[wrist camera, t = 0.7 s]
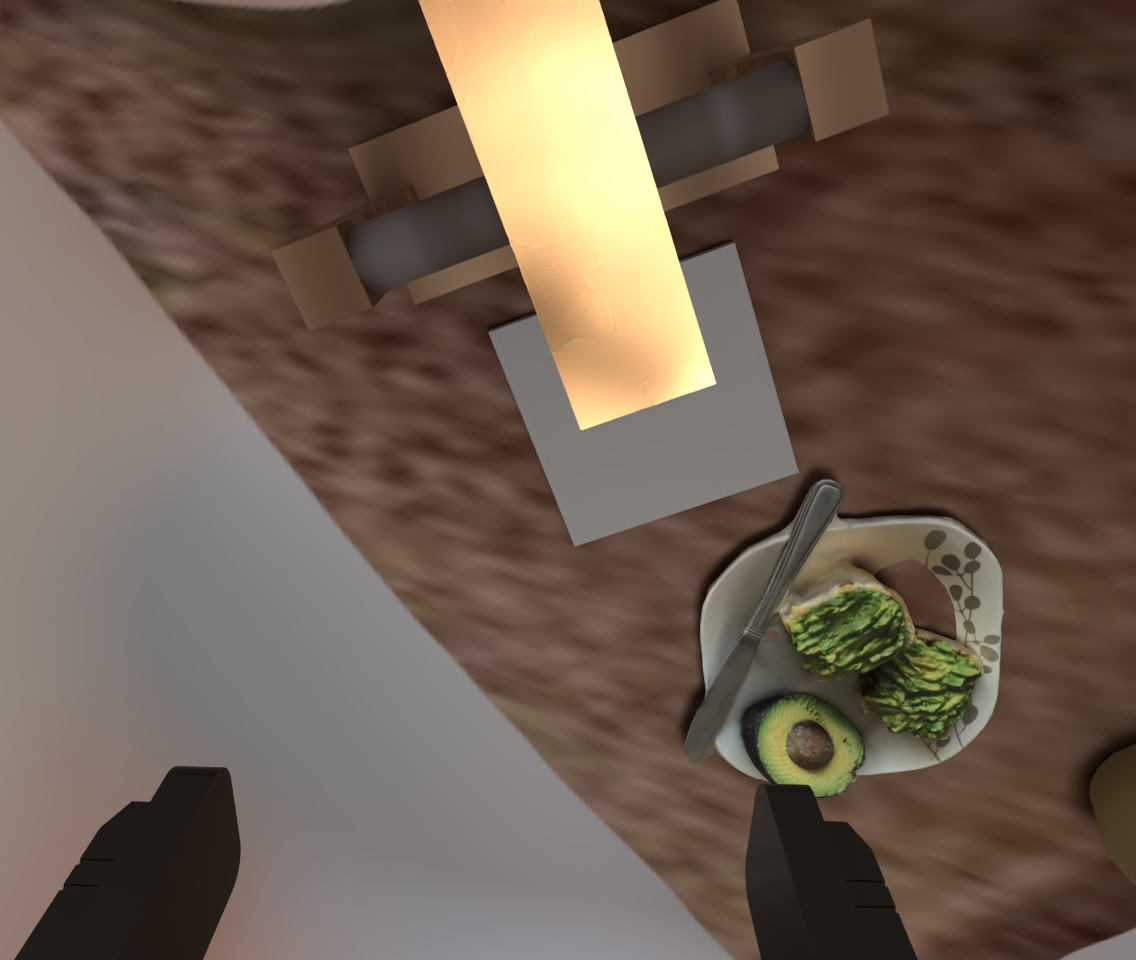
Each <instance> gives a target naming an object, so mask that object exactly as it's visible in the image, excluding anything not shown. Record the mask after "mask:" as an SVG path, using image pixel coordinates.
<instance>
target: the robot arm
mask: <svg viewBox="0 0 1136 960" xmlns="http://www.w3.org/2000/svg"><path fill="white" fill-rule="evenodd" d="M240 847H241V846H240V837H239V831H238V823H237V816H236V809H235V802H234V797H233V789H232V783H231V776H230V773H229V771H228V769H227V768H224V767H192V766H191V767H190V766H175V767H173V768H172V769H171V770H170V771H169V772H168V774H167V775H166V777H165V778H164V780H163V781H162V783H161V785H160V786H159V788H158V790H157V791H156V793H155V795H154V796H153V798H152V800H151V801H150V802H134V801H132V802H131V803H130V804H128V805H127V806H126V807H125V808H123V809H122V810H121V811H120V812H119V813H117V814H116V815H115V816H114V817H113V818H111V819H110V820H109V821H108V822H107V823H105V824H104V825H103V826H102V827H101V828H100V829H99V830H98V832H97V834H96V835H95V837H94V838H93V840H92V841H91V843H90V844H89V846H88V847H87V849H86V850H85V852H84V853H83V855H82V857H81V858H80V863H79V865H76V866H75V867H74V869H73V870H72V872H71V873H70V875H69V877H68V878H67V880H66V881H65V883H64V887H63V890H60V891H59V892H58V893H57V895H56V897H55V898H54V899H53V901H52V903H51V904H50V906H49V907H48V909H47V910H46V912H45V914H44V915H43V916H42V918H41V920H40V921H39V922H38V924H37V926H36V927H35V929H34V930H33V932H32V933H31V935H30V936H29V938H28V939H27V941H26V942H25V944H24V946H23V947H22V949H21V950H20V952H19V953H18V955H17V956H16V958H15V959H14V960H203V958H204V956H205V953H206V951H207V949H208V946H209V944H210V942H211V939H212V937H213V935H214V932H215V930H216V928H217V925H218V923H219V921H220V918H221V916H222V914H223V911H224V909H225V907H226V905H227V902H228V900H229V898H230V895H231V893H232V890H233V888H234V885H235V881H236V878H237V875H238V870H239V864H240V853H241V852H240V851H241V848H240ZM745 878H746V891H747V898H748V904H749V908H750V913H751V917H752V921H753V926H754V930H755V934H756V939H757V943H758V947H759V952H760V956H761V960H918V959H917V957H916V954H915V952H914V950H913V947H912V945H911V942H910V940H909V938H908V935H907V933H906V930H905V928H904V926H903V923H902V921H901V918H900V916H899V914H898V913H896V910H895V907H896V906H895V904H894V902H893V899H892V897H891V894H890V892H889V890H888V887H885V880H884V878H883V875H882V873H881V870H880V868H879V865H878V863H877V861H876V858H875V856H874V853H873V851H872V849H871V848H870V847H869V846H868V845H867V844H866V843H865V841H864V840H863V839H862V838H861V837H860V836H859V835H858V834H857V833H856V832H855V830H854V829H853V828H852V827H851V826H850V825H849V824H848V823H847V822H831V821H824V819H823V817H822V814H821V811H820V809H819V806H818V803H817V800H816V798H815V795H814V792H813V790H812V788H811V787H810V786H809V785H803V784H765V783H761V784H759V785H758V787H757V791H756V796H755V802H754V809H753V815H752V822H751V828H750V835H749V841H748V848H747V854H746V865H745Z"/></svg>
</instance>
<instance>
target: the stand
mask: <svg viewBox="0 0 1136 960" xmlns="http://www.w3.org/2000/svg"><path fill="white" fill-rule="evenodd" d="M612 44H613V48H614V51H615V54H616V57H617V61H618V64H619V67H620V70H621V74H622V77H623V80H624V84H625V87H626V90H627V93H628V97H629V100H630V103H631V106H632V110H633V113H634V116H635V120H636V123H637V126H638V129H639V133H640V136H641V139H642V142H643V146H644V149H645V152H646V156H647V159H648V162H649V165H650V169H651V172H652V175H653V178H654V182H655V185H656V188H657V192H658V195H659V198H660V201H661V205H662V208H663V211H664V212H665V211H668V210H670V209H673V208H676V207H678V206H681V205H684V204H686V203H689V202H692V201H694V200H697V199H700V198H702V197H705V196H708V195H710V194H713V193H716V192H718V191H721V190H724V189H726V188H729V187H732V186H734V185H737V184H740V183H743V182H745V181H748V180H751V179H753V178H756V177H759V176H761V175H764V174H767V173H769V172H772V171H775V170H777V169H779V166H778V162H777V158H776V154H775V150H774V146H773V145H775V144H778V143H780V142H783V141H786V140H788V139H796V140H806V141H815V142H816V141H819V140H822V139H824V138H827V137H830V136H832V135H835V134H838V133H840V132H843V131H846V130H848V129H851V128H854V127H856V126H859V125H862V124H864V123H867V122H870V121H872V120H875V119H878V118H880V117H883V116H886V115H888V114H889V109H888V104H887V99H886V94H885V89H884V84H883V79H882V74H881V69H880V64H879V59H878V54H877V49H876V44H875V39H874V34H873V29H872V24H871V19H870V18H869V19H865V20H862V21H859V22H856V23H852V24H849V25H846V26H842V27H839V28H836V29H832V30H829V31H826V32H822V33H819V34H816V35H812V36H809V37H806V38H803V39H799V40H796V41H793V42H789V43H786V44H783V45H779V46H776V47H773V48H769V49H766V50H763V51H759V52H756V53H753V54H750V50H749V46H748V42H747V38H746V34H745V30H744V26H743V22H742V18H741V14H740V10H739V6H738V2H737V0H719V1H717V2H714V3H712V4H709V5H707V6H704V7H702V8H699V9H697V10H694V11H692V12H689V13H687V14H684V15H682V16H679V17H677V18H674V19H672V20H669V21H667V22H664V23H662V24H659V25H657V26H654V27H652V28H649V29H647V30H644V31H642V32H639V33H637V34H634V35H632V36H629V37H627V38H624V39H622V40H619V41H617V42H614V43H612ZM348 151H349V153H350V155H351V158H352V160H353V162H354V165H355V167H356V169H357V172H358V174H359V176H360V179H361V181H362V183H363V185H364V188H365V190H366V192H367V195H368V197H369V199H370V202H371V203H369V204H367V205H365V206H363V207H361V208H359V209H357V210H355V211H353V212H351V213H348V214H346V215H344V216H342V217H340V218H338V219H336V220H334V221H332V222H330V223H328V224H326V225H324V226H322V227H320V228H318V229H316V230H314V231H312V232H310V233H308V234H305V235H303V236H301V237H299V238H297V239H295V240H293V241H291V242H289V243H287V244H285V245H283V246H281V247H279V248H277V249H275V250H273V251H271V254H272V256H273V258H274V260H275V262H276V264H277V266H278V268H279V270H280V272H281V274H282V276H283V278H284V280H285V282H286V284H287V286H288V289H289V291H290V293H291V295H292V297H293V299H294V301H295V303H296V305H297V307H298V309H299V311H300V313H301V315H302V317H303V319H304V322H305V324H306V326H307V328H308V330H309V332H310V331H312V330H315V329H318V328H320V327H323V326H326V325H328V324H331V323H334V322H336V321H339V320H342V319H344V318H347V317H350V316H352V315H355V314H358V313H360V312H363V311H366V310H368V309H371V308H373V307H374V306H375V305H376V304H377V303H378V302H379V301H380V300H381V298H382V297H383V296H384V295H385V294H386V293H387V292H388V291H389V290H390V289H393V288H396V287H398V286H401V285H404V284H406V285H407V287H408V290H409V292H410V294H411V297H412V299H413V301H414V304H415V305H416V304H418V303H421V302H424V301H426V300H429V299H432V298H434V297H437V296H440V295H442V294H445V293H448V292H450V291H453V290H456V289H458V288H461V287H464V286H467V285H469V284H472V283H475V282H477V281H480V280H483V279H485V278H488V277H491V276H493V275H496V274H499V273H501V272H504V271H507V270H509V269H512V268H515V267H517V266H519V265H518V262H517V260H516V257H515V254H514V252H513V249H512V247H511V244H510V241H509V239H508V236H507V233H506V231H505V228H504V225H503V223H502V220H501V217H500V215H499V212H498V209H497V207H496V204H495V202H494V199H493V196H492V194H491V191H490V188H489V186H488V183H487V180H486V178H485V175H484V172H483V170H482V167H481V164H480V162H479V159H478V156H477V154H476V151H475V149H474V146H473V143H472V141H471V138H470V135H469V133H468V130H467V127H466V125H465V122H464V119H463V117H462V114H461V111H460V109H459V106H458V105H457V106H454V107H452V108H449V109H447V110H444V111H442V112H439V113H437V114H434V115H432V116H429V117H427V118H424V119H422V120H419V121H417V122H414V123H412V124H409V125H407V126H404V127H402V128H399V129H397V130H394V131H392V132H389V133H387V134H384V135H382V136H379V137H377V138H374V139H372V140H369V141H367V142H364V143H362V144H359V145H357V146H354V147H352V148H349V149H348Z"/></svg>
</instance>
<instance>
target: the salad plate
mask: <svg viewBox="0 0 1136 960" xmlns="http://www.w3.org/2000/svg"><path fill="white" fill-rule="evenodd" d="M844 498H845V489H844V487H843V486H842V485H841V484H840V483H839V482H838V481H835V480H833V479H829V478H823V479H821V480H819V481H817V482H816V483H815V484H813V486H812V487H811V488H810V490H809V492H808V494H807V495H806V497H805V499H804V501H803V503H802V505H801V507H800V509H799V511H798V512H797V515H796V517H795V519H794V520H793V521H792V522H791V523H790V524H789V525H788V526H787V527H785V528H784V529H783V530H782V531H780V532H778V533H776V534H774V535H772V536H770V537H768V538H767V539H764V540H762V541H760V542H758V543H756V544H754V545H752V546H750V547H748V548H747V549H745V550H744V551H743V552H742V553H741V554H740V555H739V556H738V557H737V558H736V559H735V560H734V561H733V562H732V563H731V564H730V565H729V566H728V567H727V568H726V569H725V570H724V571H723V572H722V574H721V575H720V576H719V577H718V578H717V579H716V580H715V581H714V582H713V583H712V584H711V585H710V586H709V588H708V591H707V596H706V599H705V601H704V604H703V606H702V612H701V620H700V645H701V651H702V659H703V672H704V680H705V697H704V699H703V702H702V704H701V705H700V707H699V708H698V710H697V711H696V714H695V716H694V718H693V720H692V723H691V725H690V729H689V731H688V735H687V739H686V743H685V746H684V750H685V752H686V753H687V755H688V756H689V757H690V760H691V762H692V763H698V762H703V761H704V759H705V758H706V757H707V756H708V755H711V754H714V755H718V756H719V757H721V758H723V759H724V760H726V761H727V762H729V763H730V764H731V765H732V766H734V767H735V768H736V769H738V770H740V771H741V772H743V773H745V774H747V775H749V776H751V777H753V778H756V779H761V780H765V781H769V782H771V783H772V784H803V785H809V786H810V787H811V788H812V790H813V792H814V795H815V798H823V797H830V796H834V795H838V794H842V793H843V792H844V791H846V790H847V789H848V787H849V785H850V784H853V783H855V782H857V780H858V777H857V775H875V774H881V773H894V772H903V771H910V770H916V769H921V768H925V767H929V766H932V765H936V764H939V763H941V762H943V761H945V760H947V759H949V758H951V757H953V756H954V755H956V754H957V753H959V752H960V751H961V750H963V749H964V748H965V747H966V746H967V745H968V744H969V743H970V742H971V741H972V740H973V739H974V738H975V737H976V736H977V735H978V734H979V733H980V731H982V730H983V729H984V728H985V726H986V724H987V722H988V721H989V719H990V718H991V716H992V714H993V710H994V707H995V704H996V701H997V696H998V689H999V673H1000V643H1001V624H1002V616H1003V614H1004V608H1003V589H1002V570H1001V568H1000V564H999V562H998V560H997V558H996V557H995V556H994V554H993V553H992V552H991V551H990V549H989V547H988V545H987V543H986V542H985V541H984V540H983V539H981V538H980V537H978V536H977V535H976V534H974V533H973V532H972V531H971V530H970V529H968V528H966V527H965V526H964V525H962V524H961V523H960V522H959V521H957V520H955V519H953V518H951V517H942V516H932V515H930V516H914V515H897V516H877V517H871V518H864V519H854V518H850V519H842V518H839V517H838V516H837V512H838V509H839V508H840V506H841V504H842V503H843V501H844ZM911 559H914V560H916V561H918V562H919V563H921V564H922V565H924V566H925V567H927V568H928V569H929V570H931V571H932V572H933V573H934V574H935V575H936V576H937V578H938V579H939V580H940V581H941V583H942V584H943V585H944V586H945V587H946V589H947V591H948V593H949V595H950V597H951V599H952V603H953V605H954V609H955V616H956V627H957V636H956V640H955V641H954V640H951V639H949V638H946V637H943V636H941V635H937V634H935V633H933V632H930V631H927V630H923V629H918V628H914V625H913V623H912V620H911V617H910V615H909V612H908V609H907V606H906V604H905V603H904V601H903V599H902V597H901V596H900V595H899V594H898V593H897V592H895V591H894V590H892V589H890V588H888V587H887V586H885V585H884V584H882V583H880V582H879V581H878V580H877V579H876V578H875V577H874V576H875V573H876V572H877V571H879V570H880V569H882V568H885V567H888V566H890V565H892V564H895V563H899V562H903V561H906V560H911ZM768 631H776V632H777V633H778V636H777V638H776V639H775V640H773V641H772V642H767V641H764V639H763V636H764V634H765V633H766V632H768Z"/></svg>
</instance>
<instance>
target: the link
mask: <svg viewBox="0 0 1136 960" xmlns="http://www.w3.org/2000/svg"><path fill="white" fill-rule="evenodd" d="M419 3H420V6H421V8H422V11H423V13H424V16H425V19H426V21H427V24H428V27H429V29H430V32H431V35H432V37H433V40H434V43H435V45H436V48H437V51H438V53H439V56H440V59H441V61H442V64H443V66H444V69H445V72H446V74H447V77H448V80H449V82H450V85H451V88H452V90H453V93H454V96H455V98H456V101H457V104H458V106H459V109H460V111H461V114H462V117H463V119H464V122H465V125H466V127H467V130H468V133H469V135H470V138H471V141H472V143H473V146H474V149H475V151H476V154H477V156H478V159H479V162H480V164H481V167H482V170H483V172H484V175H485V178H486V180H487V183H488V186H489V188H490V191H491V194H492V196H493V199H494V202H495V204H496V207H497V209H498V212H499V215H500V217H501V220H502V223H503V225H504V228H505V231H506V233H507V236H508V239H509V241H510V244H511V247H512V249H513V252H514V254H515V257H516V260H517V262H518V265H519V268H520V270H521V273H522V276H523V278H524V281H525V284H526V286H527V289H528V292H529V294H530V297H531V299H532V302H533V305H534V307H535V310H536V313H537V315H538V318H539V321H540V323H541V326H542V329H543V331H544V334H545V337H546V339H547V342H548V345H549V347H550V350H551V352H552V355H553V358H554V360H555V363H556V366H557V368H558V371H559V374H560V376H561V379H562V382H563V384H564V387H565V390H566V392H567V395H568V397H569V400H570V403H571V405H572V408H573V411H574V413H575V416H576V419H577V421H578V424H579V427H580V429H581V430H584V429H587V428H589V427H592V426H595V425H598V424H601V423H604V422H607V421H610V420H613V419H615V418H618V417H621V416H624V415H627V414H630V413H633V412H636V411H639V410H641V409H644V408H647V407H650V406H653V405H656V404H659V403H662V402H665V401H668V400H670V399H673V398H676V397H679V396H682V395H685V394H688V393H691V392H694V391H696V390H699V389H702V388H705V387H708V386H711V385H714V384H716V381H715V378H714V375H713V372H712V368H711V365H710V362H709V358H708V355H707V352H706V349H705V345H704V342H703V339H702V336H701V332H700V329H699V326H698V322H697V319H696V316H695V313H694V309H693V306H692V303H691V300H690V296H689V293H688V290H687V286H686V283H685V280H684V277H683V273H682V270H681V267H680V264H679V260H678V257H677V254H676V250H675V247H674V244H673V241H672V237H671V234H670V231H669V228H668V224H667V221H666V218H665V214H664V211H663V208H662V205H661V201H660V198H659V195H658V192H657V188H656V185H655V182H654V178H653V175H652V172H651V169H650V165H649V162H648V159H647V156H646V152H645V149H644V146H643V142H642V139H641V136H640V133H639V129H638V126H637V123H636V120H635V116H634V113H633V110H632V106H631V103H630V100H629V97H628V93H627V90H626V87H625V84H624V80H623V77H622V74H621V70H620V67H619V64H618V61H617V57H616V54H615V51H614V48H613V44H612V41H611V38H610V34H609V31H608V28H607V25H606V21H605V18H604V15H603V12H602V8H601V5H600V2H599V0H419Z"/></svg>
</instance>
